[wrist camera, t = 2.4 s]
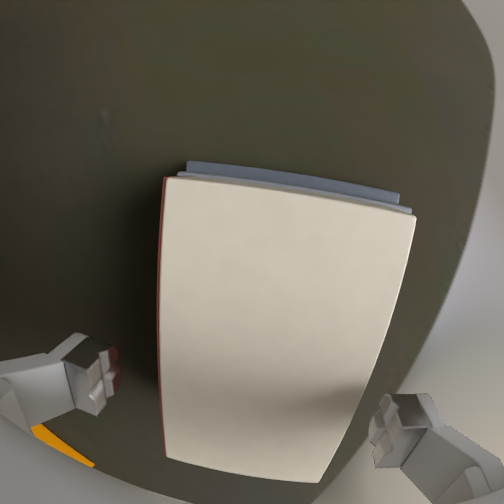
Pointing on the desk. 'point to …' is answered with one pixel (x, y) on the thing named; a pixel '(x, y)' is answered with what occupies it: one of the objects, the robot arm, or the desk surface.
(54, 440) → the orange square tile
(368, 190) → the grey pile
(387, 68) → the desk surface
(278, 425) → the cream book
